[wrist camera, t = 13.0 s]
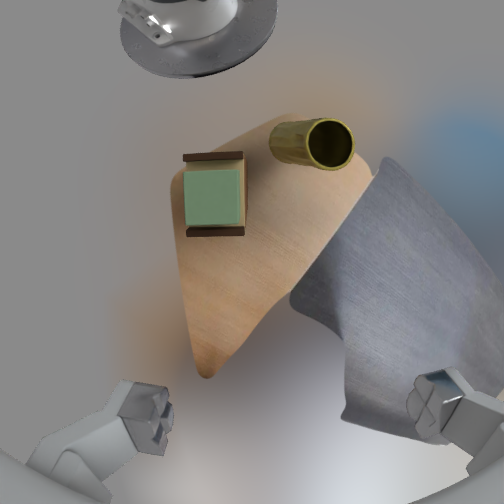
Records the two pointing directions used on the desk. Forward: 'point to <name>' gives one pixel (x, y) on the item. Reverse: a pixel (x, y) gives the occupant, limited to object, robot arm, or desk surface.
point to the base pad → (240, 163)
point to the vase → (313, 143)
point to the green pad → (212, 197)
